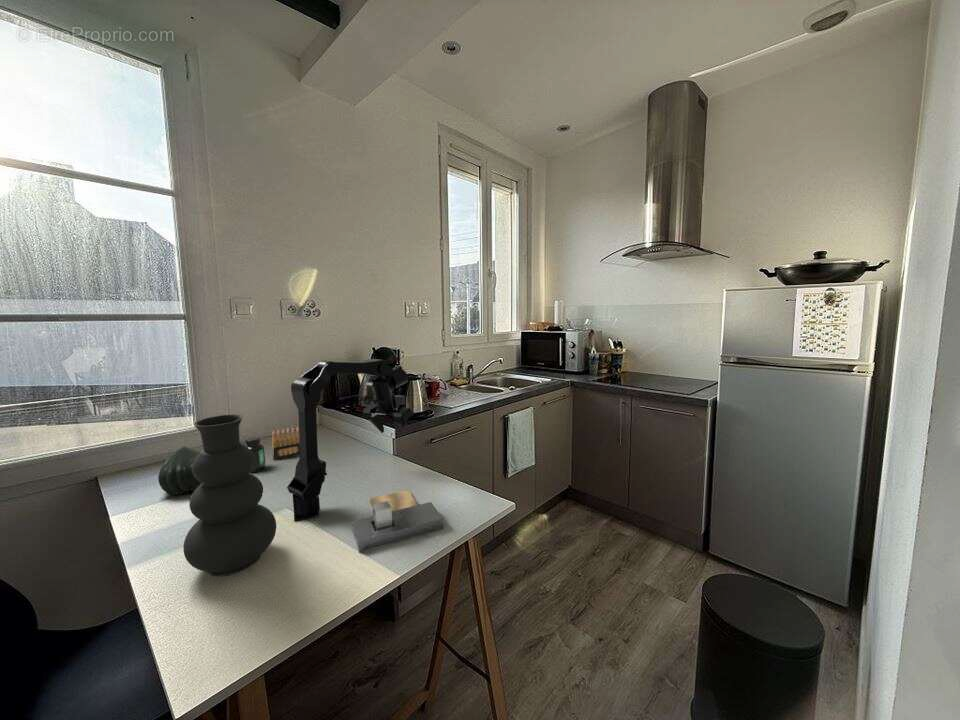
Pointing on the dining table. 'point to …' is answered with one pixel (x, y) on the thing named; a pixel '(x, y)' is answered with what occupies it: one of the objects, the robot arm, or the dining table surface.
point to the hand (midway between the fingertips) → (392, 433)
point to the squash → (179, 472)
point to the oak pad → (396, 500)
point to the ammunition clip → (285, 444)
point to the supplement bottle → (256, 453)
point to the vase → (226, 502)
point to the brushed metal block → (382, 515)
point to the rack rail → (398, 526)
